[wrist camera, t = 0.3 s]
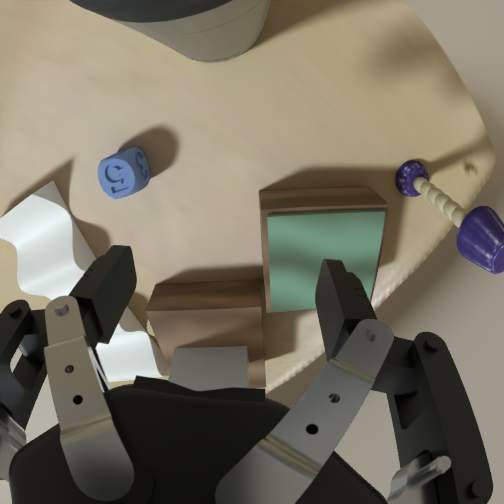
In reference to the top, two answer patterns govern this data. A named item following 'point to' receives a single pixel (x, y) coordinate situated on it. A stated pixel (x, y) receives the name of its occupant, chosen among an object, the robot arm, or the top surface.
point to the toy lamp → (459, 219)
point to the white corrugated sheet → (73, 278)
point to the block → (210, 368)
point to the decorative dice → (124, 173)
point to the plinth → (317, 240)
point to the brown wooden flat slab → (210, 319)
